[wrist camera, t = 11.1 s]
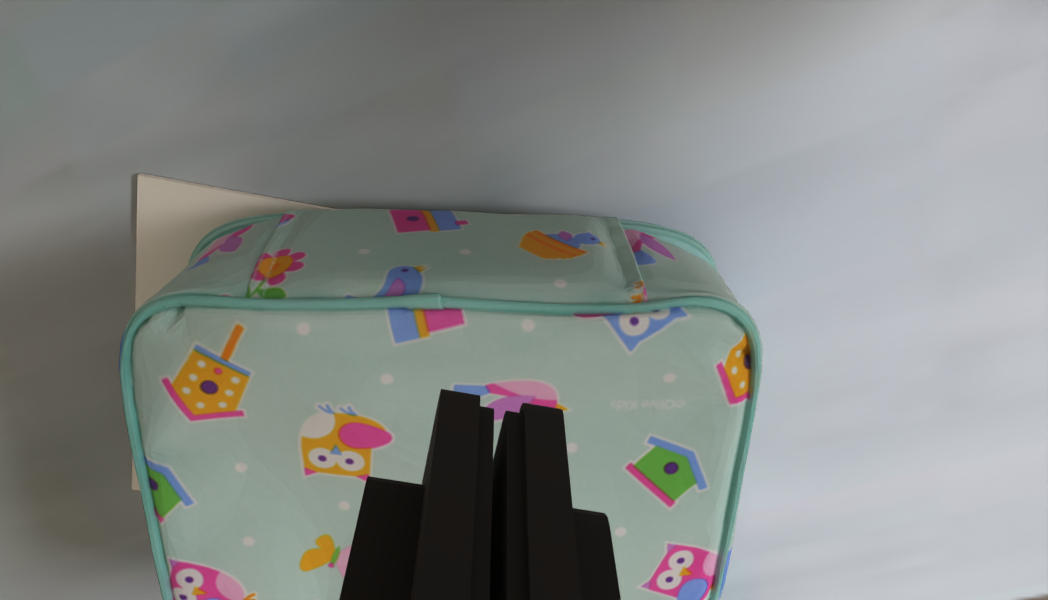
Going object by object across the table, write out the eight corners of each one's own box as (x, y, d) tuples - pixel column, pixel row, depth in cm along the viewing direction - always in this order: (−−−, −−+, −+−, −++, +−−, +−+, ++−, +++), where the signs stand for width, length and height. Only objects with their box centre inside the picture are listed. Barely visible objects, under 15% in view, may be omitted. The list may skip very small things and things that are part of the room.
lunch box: (146, 192, 40) (215, 548, 50) (43, 298, 31) (153, 707, 41) (730, 196, 41) (683, 545, 51) (797, 299, 32) (724, 700, 42)
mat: (140, 173, 40) (137, 175, 40) (688, 273, 43) (689, 276, 43) (133, 485, 48) (131, 489, 47) (598, 551, 51) (599, 555, 51)
